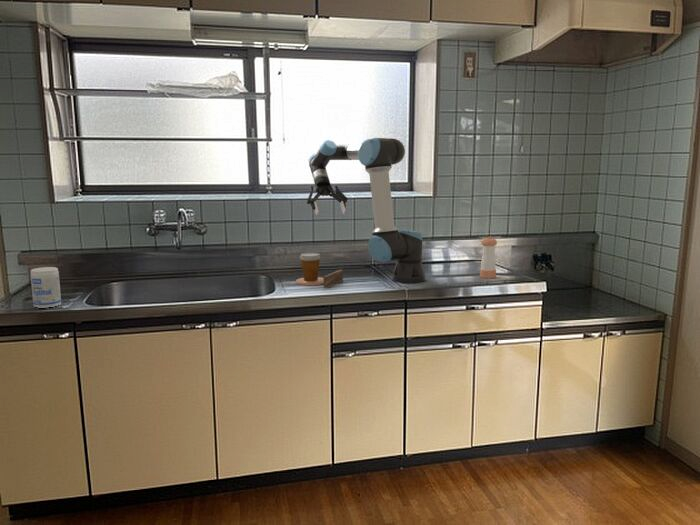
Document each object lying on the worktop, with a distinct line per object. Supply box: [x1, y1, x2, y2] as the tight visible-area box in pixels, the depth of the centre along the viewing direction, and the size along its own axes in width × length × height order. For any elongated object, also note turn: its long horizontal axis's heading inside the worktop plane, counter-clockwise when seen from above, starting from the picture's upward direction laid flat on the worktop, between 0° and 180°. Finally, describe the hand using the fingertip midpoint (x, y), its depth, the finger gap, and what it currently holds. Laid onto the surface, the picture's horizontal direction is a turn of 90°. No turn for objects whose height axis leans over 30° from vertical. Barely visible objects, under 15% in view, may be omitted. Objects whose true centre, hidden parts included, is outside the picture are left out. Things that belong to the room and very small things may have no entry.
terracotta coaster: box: [295, 276, 324, 286], centre depth 253 cm, size 15×15×1 cm
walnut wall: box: [323, 269, 344, 289], centre depth 248 cm, size 2×16×5 cm, turn 155°
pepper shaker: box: [479, 236, 498, 279], centre depth 259 cm, size 7×7×19 cm
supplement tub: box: [30, 266, 62, 309], centre depth 213 cm, size 10×10×15 cm
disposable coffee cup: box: [299, 252, 321, 281], centre depth 252 cm, size 10×10×12 cm
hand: (331, 213), depth 263 cm, fingers open, 13 cm apart
